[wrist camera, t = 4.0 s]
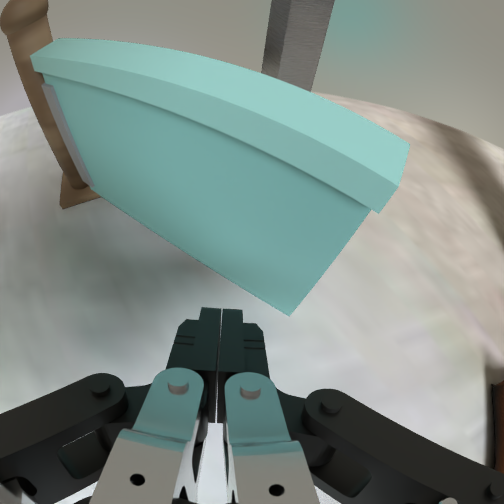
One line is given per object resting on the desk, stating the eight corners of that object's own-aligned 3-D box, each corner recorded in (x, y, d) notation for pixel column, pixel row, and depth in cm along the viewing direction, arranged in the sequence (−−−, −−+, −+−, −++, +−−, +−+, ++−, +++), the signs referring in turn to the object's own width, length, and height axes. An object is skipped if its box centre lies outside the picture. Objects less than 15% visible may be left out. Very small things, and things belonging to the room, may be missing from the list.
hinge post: (109, 157, 21) (63, -27, 7) (110, 194, 19) (43, -19, 5) (66, 171, 20) (2, 2, 6) (62, 209, 18) (-28, 21, 4)
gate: (86, 191, 18) (29, 55, 8) (104, 174, 18) (58, 38, 9) (288, 322, 15) (398, 186, 5) (304, 295, 16) (410, 144, 6)
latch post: (289, 108, 25) (317, -16, 14) (310, 136, 23) (351, -2, 12) (245, 112, 24) (261, -23, 13) (262, 142, 22) (288, -12, 11)
